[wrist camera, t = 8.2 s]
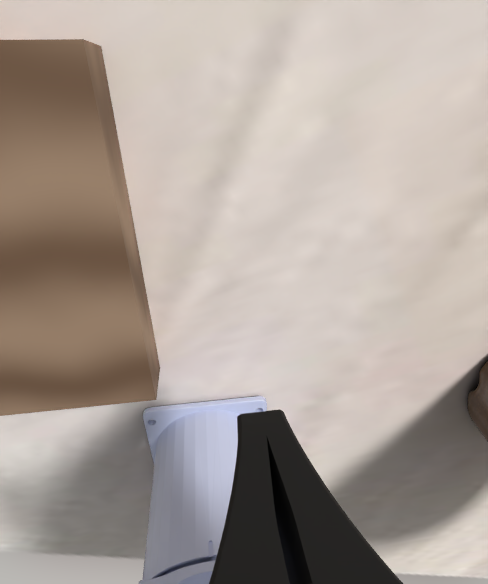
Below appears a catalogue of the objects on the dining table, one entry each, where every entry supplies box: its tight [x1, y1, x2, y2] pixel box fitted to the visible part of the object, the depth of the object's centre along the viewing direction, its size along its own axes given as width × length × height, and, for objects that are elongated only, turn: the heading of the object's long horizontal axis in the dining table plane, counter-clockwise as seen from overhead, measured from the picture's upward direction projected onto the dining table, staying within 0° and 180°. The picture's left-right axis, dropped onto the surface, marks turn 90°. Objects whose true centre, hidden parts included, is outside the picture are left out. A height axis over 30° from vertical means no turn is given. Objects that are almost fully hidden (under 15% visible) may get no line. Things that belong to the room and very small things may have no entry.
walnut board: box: [0, 39, 160, 416], centre depth 16 cm, size 16×10×2 cm, turn 1°
